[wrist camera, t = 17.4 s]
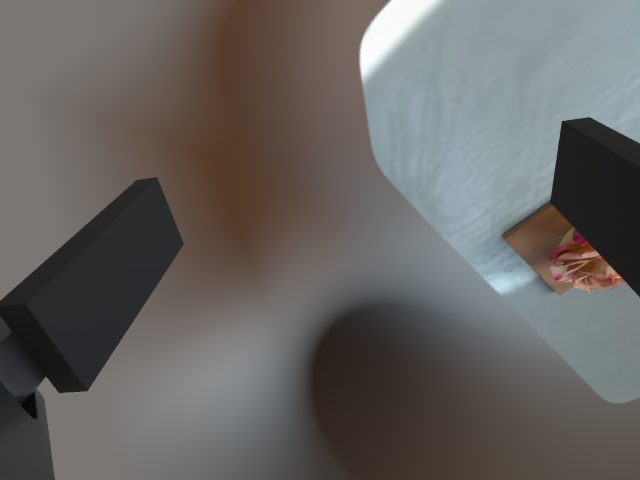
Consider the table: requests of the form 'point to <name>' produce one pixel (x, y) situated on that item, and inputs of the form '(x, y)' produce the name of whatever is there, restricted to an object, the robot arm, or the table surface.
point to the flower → (582, 264)
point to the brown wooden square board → (540, 242)
